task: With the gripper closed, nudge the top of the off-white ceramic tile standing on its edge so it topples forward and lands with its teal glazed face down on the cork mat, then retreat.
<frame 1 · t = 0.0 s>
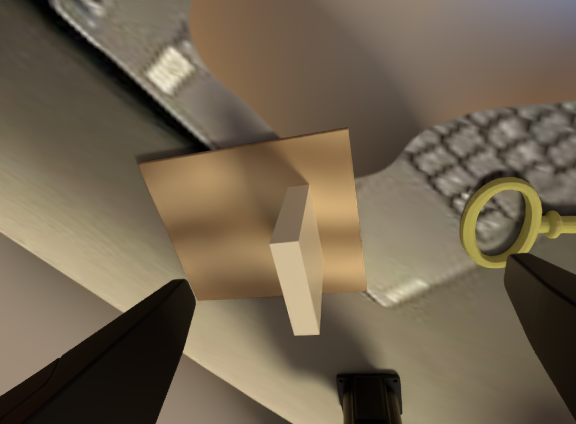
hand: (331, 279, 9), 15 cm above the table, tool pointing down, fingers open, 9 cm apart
mat: (260, 227, 26), on the table
tile: (307, 226, 25), point 1 cm above the table, touching mat
key: (541, 215, 23), on the table
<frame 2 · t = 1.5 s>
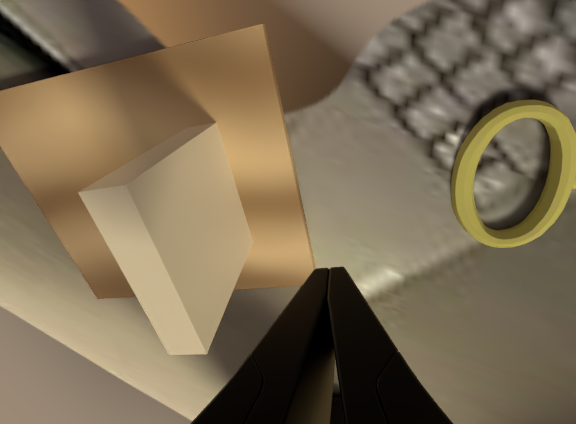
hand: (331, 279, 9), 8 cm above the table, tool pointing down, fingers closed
mat: (162, 194, 18), on the table
tile: (222, 189, 17), point 1 cm above the table, touching mat
key: (575, 163, 15), on the table
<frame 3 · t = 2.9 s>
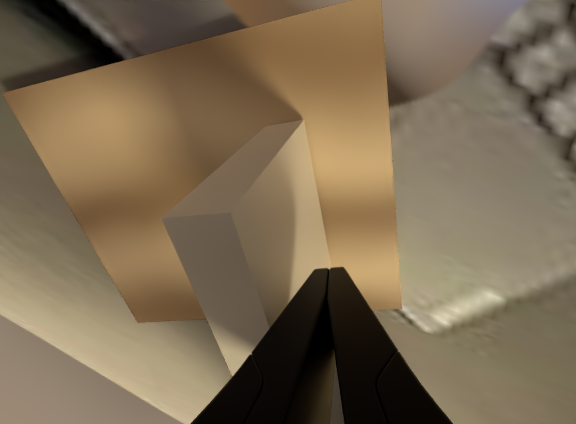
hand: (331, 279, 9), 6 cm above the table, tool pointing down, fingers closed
mat: (223, 205, 16), on the table
tile: (301, 200, 14), point 1 cm above the table, tilted 6°, touching mat
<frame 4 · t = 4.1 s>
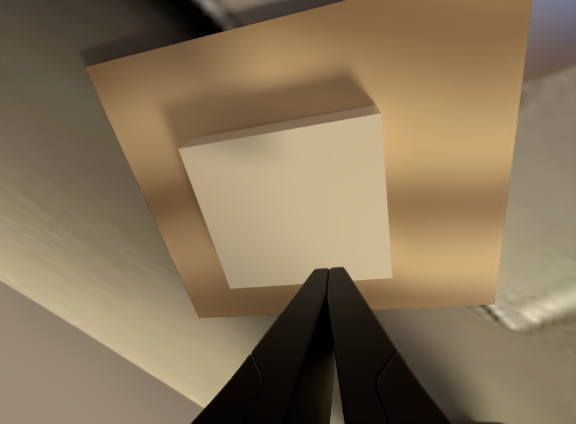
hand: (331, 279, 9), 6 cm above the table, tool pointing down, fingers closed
mat: (311, 192, 15), on the table
tile: (384, 197, 13), point 1 cm above the table, tilted 90°, touching mat
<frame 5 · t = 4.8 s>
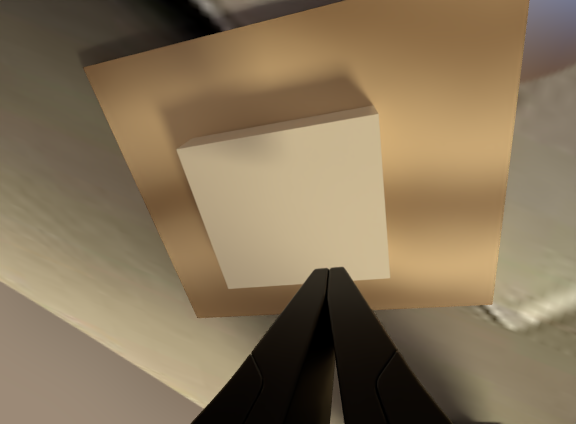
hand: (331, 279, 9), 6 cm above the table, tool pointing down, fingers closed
mat: (309, 192, 15), on the table
tile: (382, 197, 13), point 1 cm above the table, tilted 90°, touching mat
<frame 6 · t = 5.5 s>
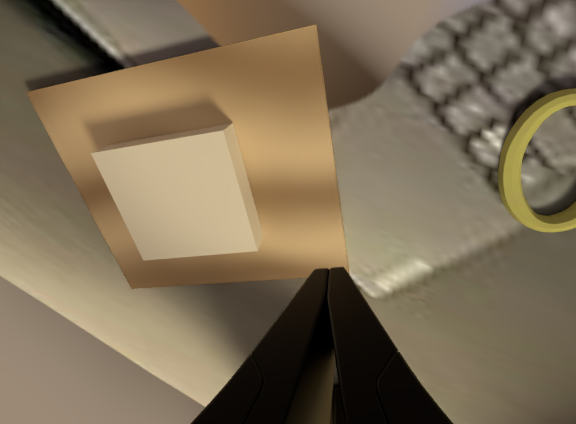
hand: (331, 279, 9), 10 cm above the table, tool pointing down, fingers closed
mat: (203, 186, 19), on the table
tile: (245, 190, 17), point 1 cm above the table, tilted 90°, touching mat
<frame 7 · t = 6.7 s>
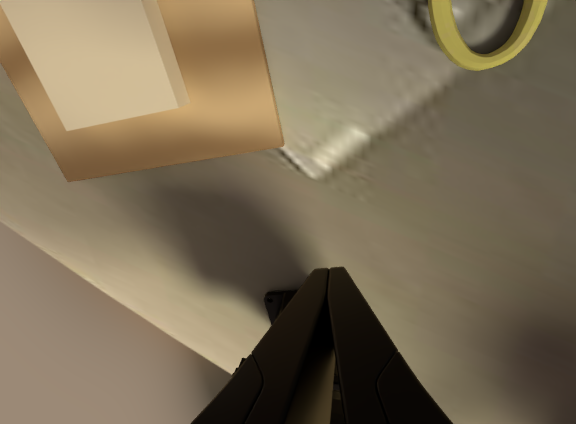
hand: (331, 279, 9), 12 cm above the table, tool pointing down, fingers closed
mat: (126, 49, 18), on the table
tile: (161, 36, 16), point 1 cm above the table, tilted 90°, touching mat
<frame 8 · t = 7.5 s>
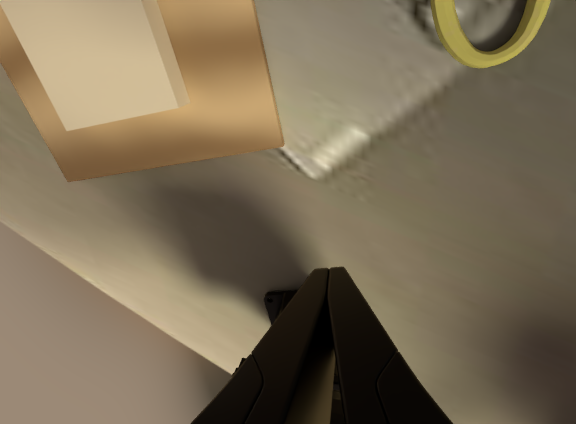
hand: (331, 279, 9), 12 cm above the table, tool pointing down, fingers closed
mat: (126, 49, 18), on the table
tile: (161, 36, 16), point 1 cm above the table, tilted 90°, touching mat
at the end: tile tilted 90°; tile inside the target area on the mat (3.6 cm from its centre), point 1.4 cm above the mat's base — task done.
